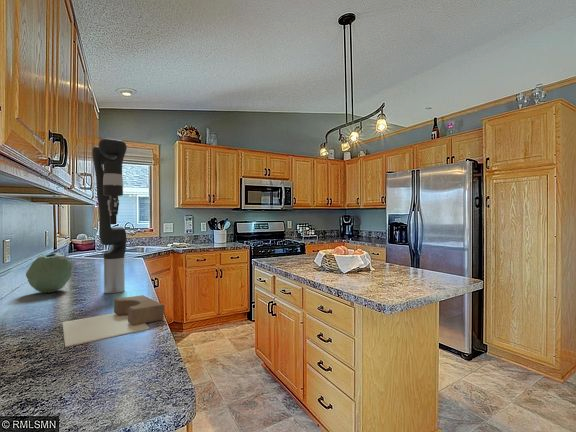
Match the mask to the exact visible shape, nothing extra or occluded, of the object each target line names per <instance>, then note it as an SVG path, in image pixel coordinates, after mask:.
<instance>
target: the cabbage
mask: <svg viewBox="0 0 576 432" xmlns="http://www.w3.org/2000/svg"><path fill="white" fill-rule="evenodd" d="M72 269H73V261H72V260H69V257H68V256H66V255H64V254H63V253H62V252H58V251H57V252H56V253H50V254H41V255H40V256H38V257H37V258H36V259H34V260H33V261H32V263H31V264H30V266H29V268H28V269H27V270H26V273H25V276H26V279H27V283H28V284H29V285H30V287H32V288H33V289H34V290H35V291H37V292H39V293H44V294H47V292H48V294H49V293H50V292H51V293H54V292H57V291H59V290H61V289H62V288H64V287H65V285H66V284H68V282H69V281H70V279H71V277H72V275H73V273H72Z"/></svg>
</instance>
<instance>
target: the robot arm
mask: <svg viewBox="0 0 576 432" xmlns="http://www.w3.org/2000/svg"><path fill="white" fill-rule="evenodd" d="M127 147H128V146H127V143H126V142H125V140H121V139H115V138H101V139H100V140H99V142H98V146H94V147H93V148H92V160H93V167H94V173H95V179H96V180H95V182H96V196H97V198H96V199H97V203H98V214H99V224H98V225H99V227H98V228H99V232H98V233H99V240H100V242H101V244H102V245H103V246H113V247H112V248H111V249H110V250H108V251H106V252H104V253H103V293H104V294H115V293H116V294H118V293H122V292H125V290H126V289H125V288H126V287H125V280H126V279H125V278H126V277H125V276H126V273H125V272H126V271H125V269H126V268H125V267H126V266H125V256H126V255H125V254H126V251H127V250H126V249H127V232H126V229H125V228H124V227H123V226H112V225H117V219H118V218H117V217H118V214H119V206H120V199H119V197H122V196H123V195H124V179H123V162H124V158H125V156H126V153H127Z"/></svg>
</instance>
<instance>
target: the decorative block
mask: <svg viewBox="0 0 576 432" xmlns="http://www.w3.org/2000/svg"><path fill="white" fill-rule="evenodd" d="M113 303H114V307H113V313H116V314H117V315H128V322H129V323H130V324H132V325H138V324H143V323H145V324H147V323H153V322H158V321H163V320H164V318H165V305H164V304H163V303H160V302H158V301H156V300H154V299H151V298H150V297H148V296H145V295H135V296H128V297H127V296H126V297H118V298H115V299H114V302H113Z"/></svg>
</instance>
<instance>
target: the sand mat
mask: <svg viewBox="0 0 576 432" xmlns="http://www.w3.org/2000/svg"><path fill="white" fill-rule="evenodd" d="M146 330H150V327H149V326H148V325H147V323H143V324H138V325H132V324H130V323H129V322H128V315H117V314H116V313H114V312H112V313H107V314H102V315H96V316H91V317H90V316H89V317H85V318H80V319H74V320H68V321H62V333H63V339H64V340H63V341H64V348H68V347H73V345H74V346H77V345H78V346H79V345H82V344H87V343H91V342H96V341H102V340H105V339H111V338H115V337H119V336H123V335H128V334H132V333H137V332H143V331H146Z"/></svg>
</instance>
